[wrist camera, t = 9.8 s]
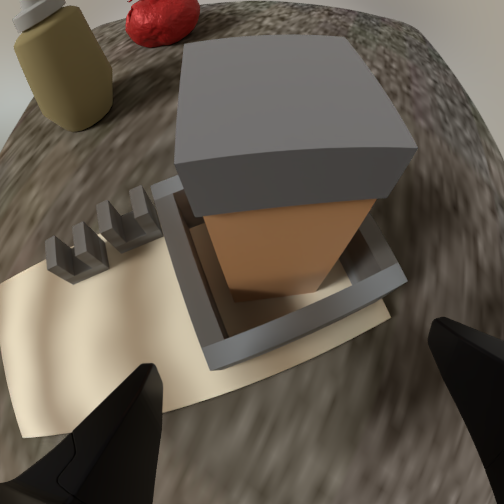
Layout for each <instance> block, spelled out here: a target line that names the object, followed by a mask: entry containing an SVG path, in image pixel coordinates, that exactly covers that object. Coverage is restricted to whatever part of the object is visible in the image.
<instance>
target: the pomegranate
mask: <svg viewBox="0 0 504 504" xmlns="http://www.w3.org/2000/svg"><path fill="white" fill-rule="evenodd" d="M131 1H132V0H130V1H129V2H131ZM199 14H200V5H199V3H198V1H197V0H139V1H138V2H136V3H135V4H133V5H132V6H131V10H130V11H129V13H128V15H127V17H126V32H127V33H128V35H129V36H130V37H131V39H132V40H133V41H134V42H135V43H136V44H138V45H140V46H144V47H150V48H151V47H158V46H161V45H170V44H173V43H175V42H178V41H180V40H181V39H182V38H184V37H185V36H187V35H188V34H189V33H190V32H191V31H192V30H193V29H194V28H195V25H196V24H197V22H198V19H199Z"/></svg>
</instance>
